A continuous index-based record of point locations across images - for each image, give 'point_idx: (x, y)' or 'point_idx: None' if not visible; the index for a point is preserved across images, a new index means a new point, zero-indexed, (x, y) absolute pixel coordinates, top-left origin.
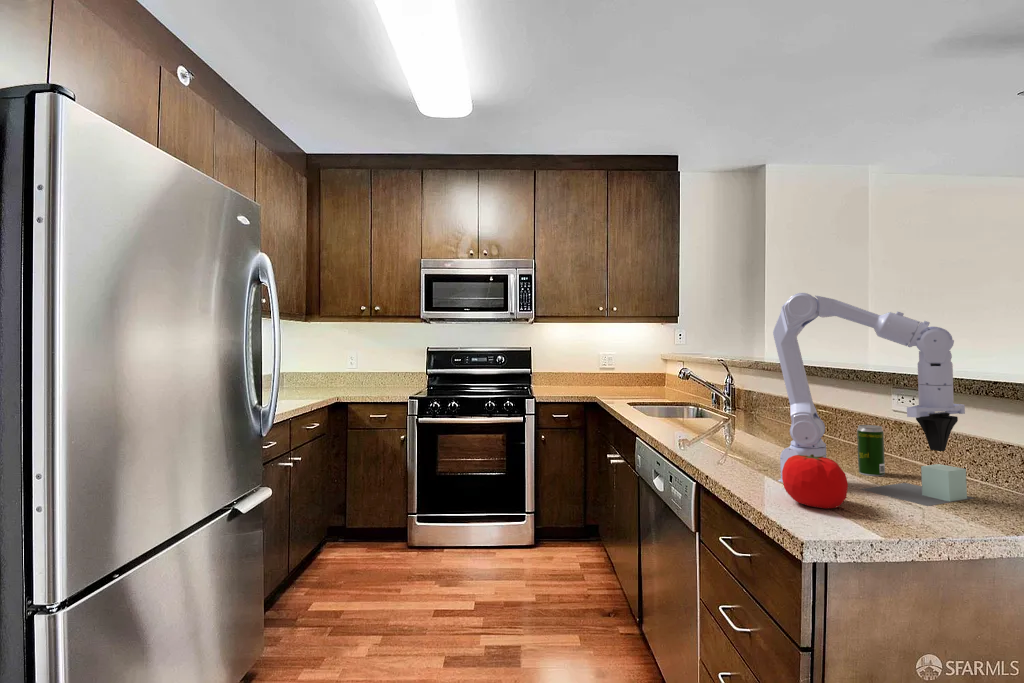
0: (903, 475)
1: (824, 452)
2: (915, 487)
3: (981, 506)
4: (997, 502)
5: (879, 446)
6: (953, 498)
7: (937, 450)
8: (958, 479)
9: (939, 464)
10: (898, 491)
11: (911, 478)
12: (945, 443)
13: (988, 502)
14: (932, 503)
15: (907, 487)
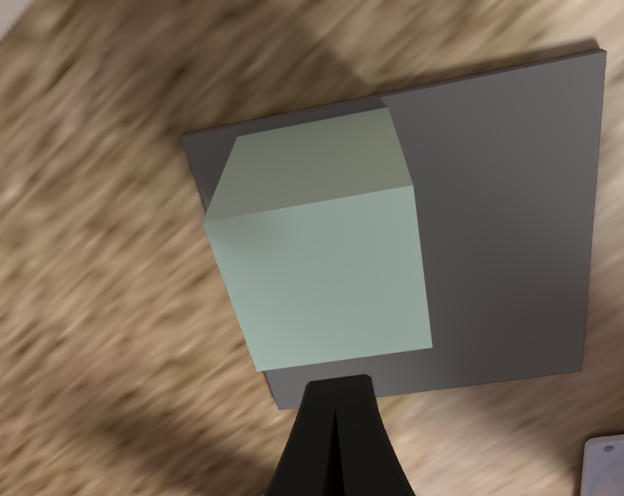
0: (164, 492)
1: None
2: None
3: (260, 15)
4: (97, 69)
5: None
6: (353, 118)
7: (374, 395)
8: (298, 173)
9: (260, 361)
10: (451, 310)
11: (169, 459)
12: (315, 432)
13: (148, 80)
14: (521, 93)
15: None
